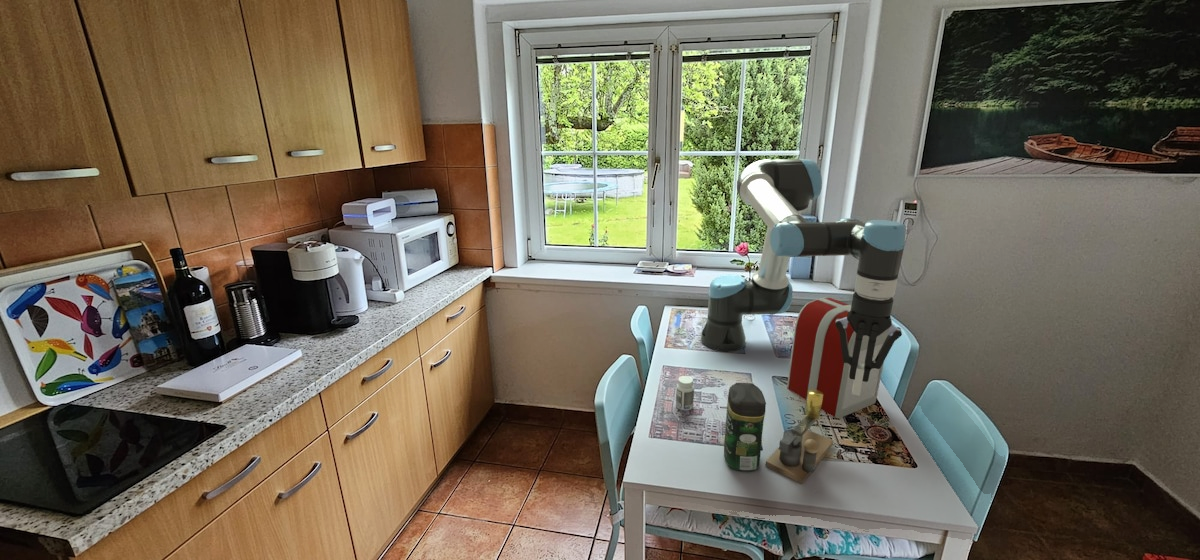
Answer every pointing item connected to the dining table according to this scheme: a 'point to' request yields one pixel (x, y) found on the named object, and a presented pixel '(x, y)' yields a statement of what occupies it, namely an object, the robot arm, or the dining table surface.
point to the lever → (803, 422)
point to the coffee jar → (744, 426)
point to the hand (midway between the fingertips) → (856, 392)
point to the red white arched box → (830, 359)
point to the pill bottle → (685, 393)
